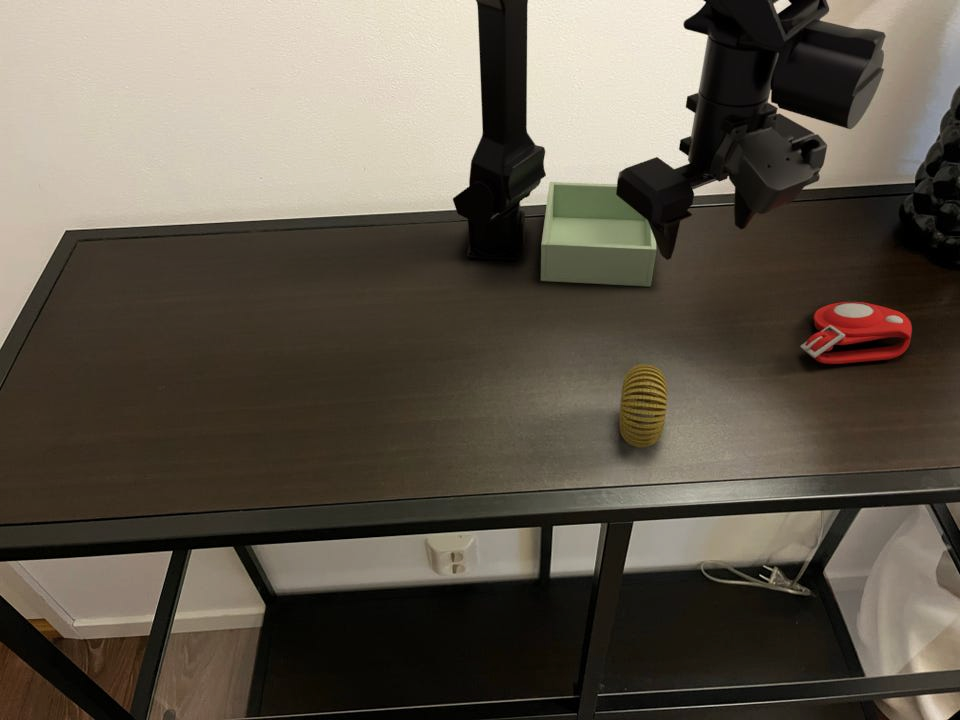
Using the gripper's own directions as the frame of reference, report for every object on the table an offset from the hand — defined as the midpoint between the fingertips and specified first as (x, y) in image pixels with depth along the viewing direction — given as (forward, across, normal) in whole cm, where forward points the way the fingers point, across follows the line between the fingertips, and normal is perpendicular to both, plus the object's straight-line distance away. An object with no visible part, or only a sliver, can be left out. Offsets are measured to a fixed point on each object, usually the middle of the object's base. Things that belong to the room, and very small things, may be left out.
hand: (703, 241), depth 73 cm
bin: (+13, +1, +18) cm, 23 cm away
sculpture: (+14, -12, -8) cm, 20 cm away
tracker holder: (+14, +14, -9) cm, 22 cm away
